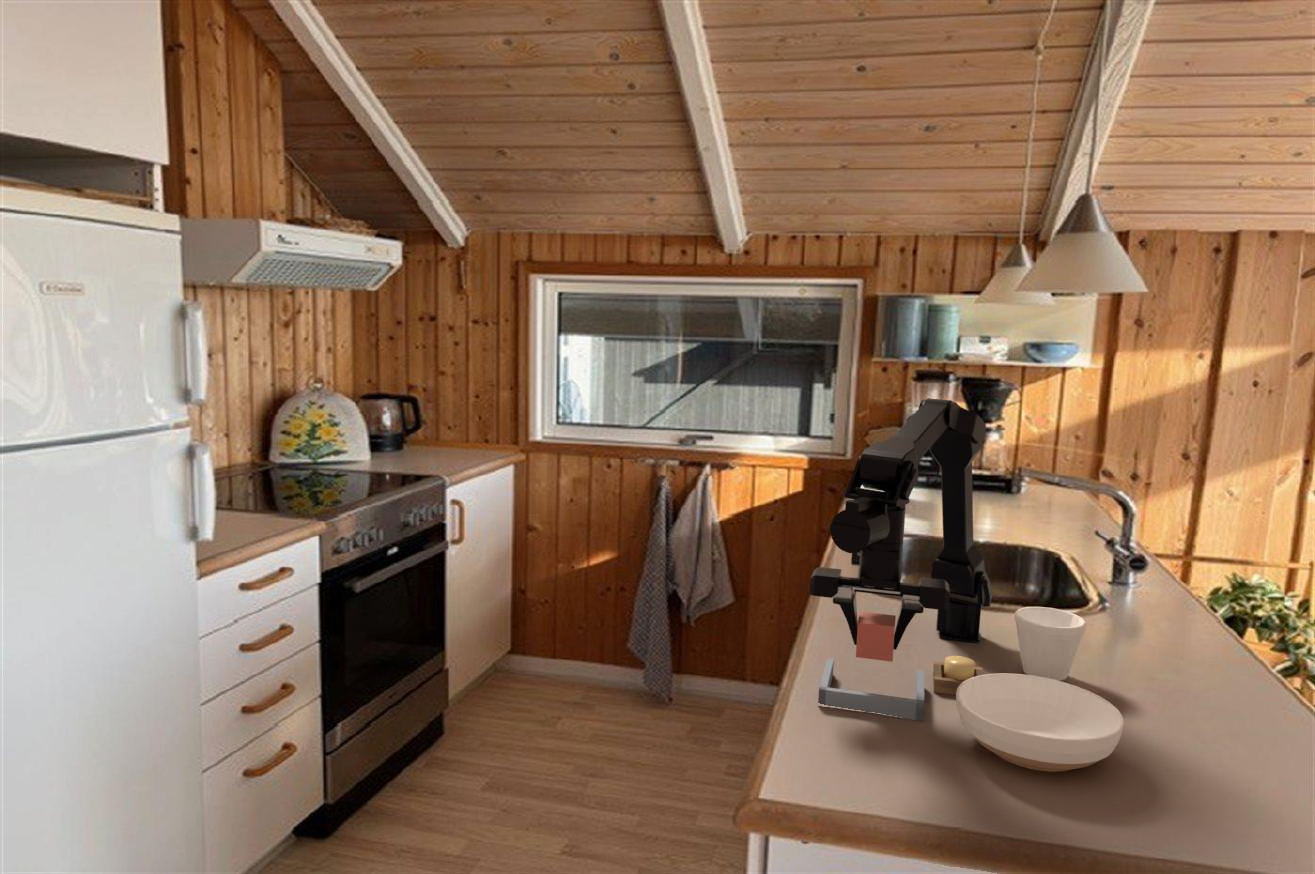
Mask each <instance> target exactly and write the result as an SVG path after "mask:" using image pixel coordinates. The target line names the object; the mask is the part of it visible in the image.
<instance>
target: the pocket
mask: <svg viewBox="0 0 1315 874" xmlns="http://www.w3.org/2000/svg"><path fill="white" fill-rule="evenodd" d="M834 664H835V659H834V658H829V657H827V658H826V662H825V666H824V669H823V672H822V676H821V681H820V683H819V684H820V685H819V687H818V699H817V704H818V703H820V704H824V705H828V706H835V707H841V708H848V709H854V710H861V711H865V712H875V713H881V714H886V715H892V716H897V717H902V718H901V719H904V718H908V719H907V720H911V719H912V720H913V721H918V722H923V721H924V713H925V710H924V709H925V671H924V669H923V670H922V669H916V675H915V699H914V698H909V697H908V698H907V697H902V696H893V695H886V694H880V693H879V694H878V693H872V692H865V691H857V690H850V689H849V690H848V689H843V688H834V687H831V685H832V680H833V677H832V676H834ZM830 684H831V685H830ZM897 717H896V718H897ZM912 720H911V721H912Z"/></svg>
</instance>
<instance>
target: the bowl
mask: <svg viewBox="0 0 1315 874" xmlns="http://www.w3.org/2000/svg"><path fill="white" fill-rule="evenodd" d="M955 696H956V707H957V708H956V709H957V711H958V715H959V719H960V722H961V724H962V726H963V727H964V729H965V730H966V731H967V732H968V733H969V734H970V735H971V736H972V737H973V739H975V741H977V742H978V744H980V745H981V746H982V747H984V748H985V749H987V750H988V751H990V752H992V753H994V755H996V756H998V758H1000V759H1002V760H1004V761H1007V762H1008V763H1011V764H1014V765H1016V766H1018V767H1023V768H1026V769H1031V770H1035V771H1040V772H1052V773H1053V772H1055V773H1056V772H1065V771H1070V770H1077V769H1081V768H1082V769H1083V768H1087V767H1089V766H1092V765H1094V764H1095V763H1099V761H1101V760H1104V759H1106V758H1108V756H1110V755H1111V754H1112V753H1113V752H1114V750H1115V748H1116V746H1117V745H1118V743H1119V742H1120V739H1121V737H1122V733H1123V730H1124V725H1125V722H1124V721H1125V720H1124V717H1123V715H1122V713H1121V712H1120V710H1119V709H1118V708H1117V707H1116V706H1115V705H1113V703H1111V702H1110V701H1108V700H1106V699H1105V698H1104V697H1102V696H1100V695H1098V694H1096V693H1093V692H1092V691H1090V690H1088V689H1085V688H1083V687H1079V686H1078V685H1074V684H1071V683H1068V682H1064V681H1062V682H1061V681H1057V680H1053V679H1049V678H1044V677H1038V676H1032V675H1026V674H1022V673H1004V672H1003V673H987V674H984V675H980V676H976V677H973V678H969V679H967V680H966V681H964V682H962V683H961V684H960V685H959V687H958V688H957V692H956V695H955Z"/></svg>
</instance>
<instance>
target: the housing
mask: <svg viewBox="0 0 1315 874" xmlns="http://www.w3.org/2000/svg"><path fill="white" fill-rule="evenodd" d="M944 665H945V662H939V661H933V669H932V683H933V684H932V685H933V686H932V687H933V693H938V694H944V695H945V694H946V695H951V696H956V692H957V688H958V687H959V685H960V684H961V683H962V682H964V681H966V680H959V679H951V678H944ZM980 675H985V673H984V668H983V667H981V666H975V669H974V677H976V676H980Z"/></svg>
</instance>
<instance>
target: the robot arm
mask: <svg viewBox="0 0 1315 874" xmlns="http://www.w3.org/2000/svg"><path fill="white" fill-rule="evenodd" d="M986 427H987V426H986V424H985V421H984V420H983V418H982V417H980V416H979V415H978V414H977V413H975V412H974V411H971V410H969V409H966V408H963V407H962V406H960V405H959V404H958V403H957V402H956V401H955V402H954V401H953V400H951V399H942V398H941V399H939V398H927V399H922V400H921V401H920V402H919V405H918V409H917V410H916V411H915V412H914V414H913V415H912V416H911V417H910V418H908V420H907V421H906V422H905V423H904V424H903V425H902V426H901V427H900V428H899V430H897V432H896V433H895V434H894V435H893V436H892V437H891V438H889V439H884V440H881V441H880V440H879V441H876V442H874V443H873V444H871V445H870V446H868V447H867V448H865V449H864V450H863V452H862V453H861V454H860V455H859V456H858V458H857V460H856V463H855V466H854V468H853V471H852V474H851V477H850V479H849V482H848V485H847V487H846V489H845V492H844V498H845V499H848V500H845V507H844V508H845V509H844V510H841V511H839V512H837V513H836V514H835V516H834V517H833V519H832V522H831V523H830V524H829V525H830V527H829V529H830V530H829V531H830V537H831V539H832V542H833V543H834V545H836V547H837V548H838V549H840V550H841V551H842V552H845V553H847V554H851V559H850V561H851V562H850V564H851V565H852V566H853V567H854V566H855V567H858V569H859V570H858V577H849V576H842V573H843V572H842V568H841V569H840V568H832V567H824V566H818V567H816V568H815V569H814V570H813V572H812V574H811V577H810V582H809V583H810V584H809V595H810V596H813V597H821V598H828V599H829V598H830V599H831V598H832V603H833V604H835V605H838V606H839V607H840V609H841V611H842V613H843V615H844V617H845V619H846V622H847V624H848V628H849V631H850V635H851V638H852V642H853V645H855V646H856V645H857V628H858V608H857V593H865V594H873V595H882V596H883V595H884V596H895V597H901V601H900V605H899V612H898V616H897V620H896V624H895V633H894V648H893V651H894V650H895V651H896V650H897V648H898V646H899V644H900V642H901V640H902V638H903V635H904V633H905V631H906V629H907V627H908V625H909V624H910V623H911V621H912V619H913V618H914V617H915V615H916V614H923V613H924V611H925V610H924V609H928V610H929V609H930V610H937V611H936V625H935V626H936V627H935V628H936V629H935V630H936V631H937V632H938V637H939V638H940V639H945V640H946V639H947V640H953V641H954V640H955V641H962V642H963V641H964V642H971V643H980V642H981V638H980V637H981V636H980V625H981V614H982V613H981V612H982V609H983V608H985V607H987V608H988V607H989V608H990V607H991V606H992V605H991V604H992V598H993V592H994V591H993V587H992V585H991V582H990V579H989V576H988V574H987V572H986V568H985V567H986V566H985V558H984V556H983V555H982V554H981V552H980V551H979V549H978V548H977V547H976V545H975V543H974V509H973V508H974V505H973V504H974V500H973V492H974V491H973V462H974V460H976V457H977V456H978V455H979V453H980V452H981V451H982V449H983V444H984V441H985V437H986V434H987V433H986V431H987V429H986ZM928 451H929V452H930V453H931V455H932V457H933V458H934V460H935V461H936V462H937V464H938V465H939V467H940V475H941V476H940V477H941V482H940V483H941V505H942V506H941V512H942V514H941V515H942V543H943V545H942V548H941V551H939V553H938V555H937V557H936V558H935V559H934V561H933V562H932V563H931V565H932V567H931V573H930V577H923V576H922V577H919V583H918V584H916V583H907V582H901V581H902V573H903V571H902V569H903V552H904V551H903V550H904V538H905V537H904V536H905V521H906V507H907V506H906V505H908V504H910V502H911V500H910V497H911V494H912V491H913V489H914V487H915V484H916V483H917V481H918V478H919V467H918V465H919V462H920V460H921V459H922V458H924V456H925V455H926V454H927V452H928Z"/></svg>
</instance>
